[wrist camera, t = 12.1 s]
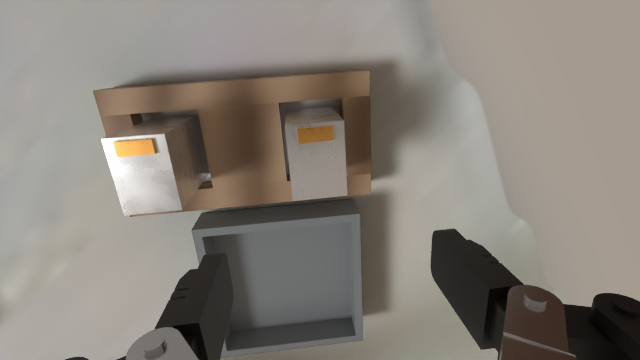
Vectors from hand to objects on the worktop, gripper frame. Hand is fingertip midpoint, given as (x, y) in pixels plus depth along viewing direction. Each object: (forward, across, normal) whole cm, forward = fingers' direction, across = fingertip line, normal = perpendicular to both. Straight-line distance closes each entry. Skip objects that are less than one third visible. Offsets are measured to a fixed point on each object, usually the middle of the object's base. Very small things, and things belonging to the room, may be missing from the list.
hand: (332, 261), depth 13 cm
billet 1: (+19, +11, -1) cm, 22 cm away
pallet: (+20, +5, -1) cm, 21 cm away
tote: (+20, +3, +14) cm, 25 cm away
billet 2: (+19, 0, -1) cm, 19 cm away
